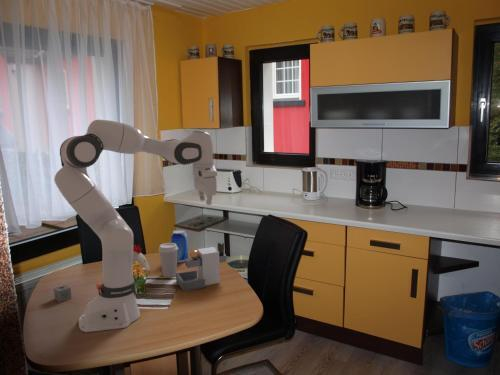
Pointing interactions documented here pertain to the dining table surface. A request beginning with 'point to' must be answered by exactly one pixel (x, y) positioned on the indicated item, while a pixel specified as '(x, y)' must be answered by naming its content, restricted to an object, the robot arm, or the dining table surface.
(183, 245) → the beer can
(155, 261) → the dining table surface
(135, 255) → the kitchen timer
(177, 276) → the tray
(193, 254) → the copper ball
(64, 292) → the grey cube with hole
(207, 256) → the block
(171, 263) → the coffee cup
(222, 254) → the shaft
